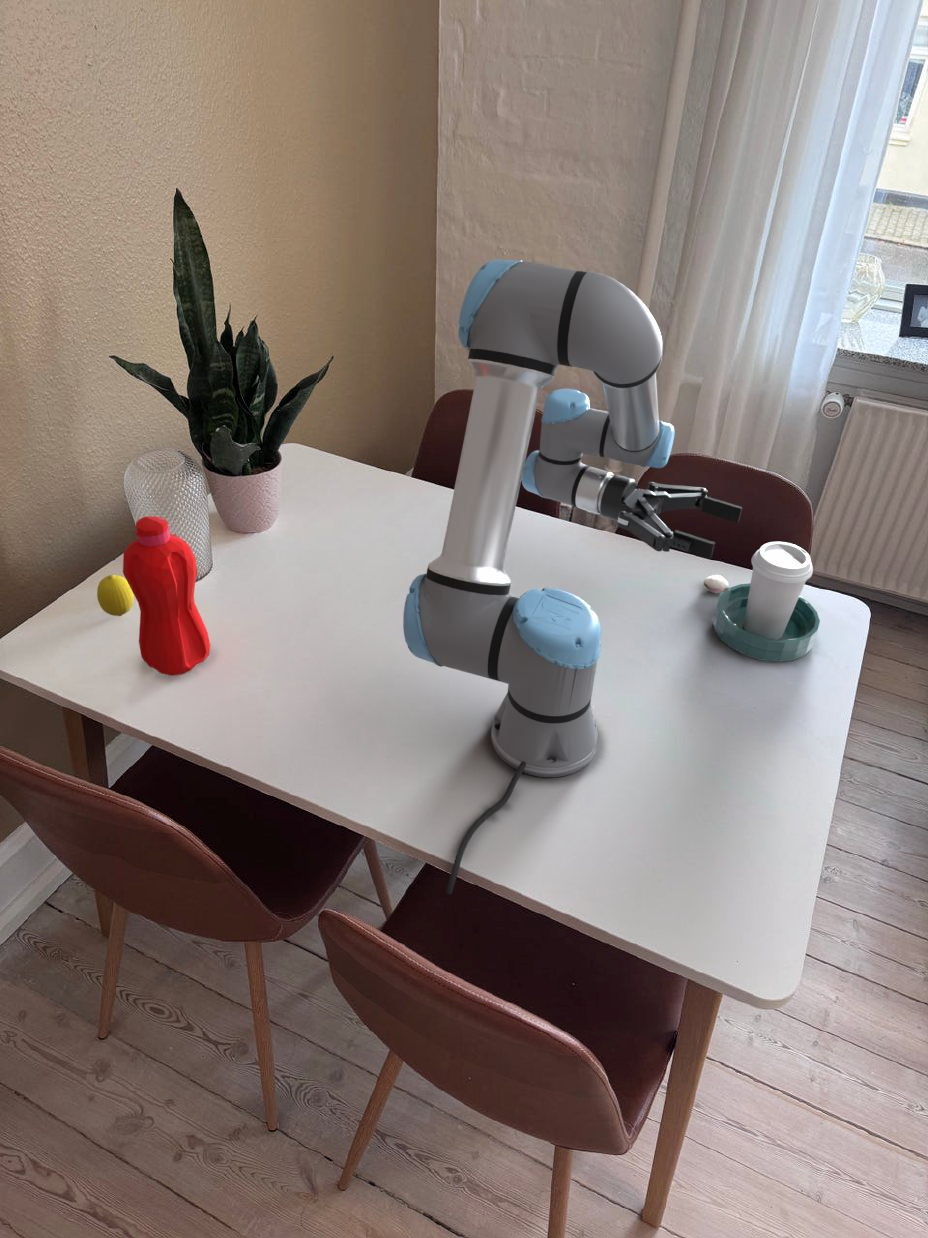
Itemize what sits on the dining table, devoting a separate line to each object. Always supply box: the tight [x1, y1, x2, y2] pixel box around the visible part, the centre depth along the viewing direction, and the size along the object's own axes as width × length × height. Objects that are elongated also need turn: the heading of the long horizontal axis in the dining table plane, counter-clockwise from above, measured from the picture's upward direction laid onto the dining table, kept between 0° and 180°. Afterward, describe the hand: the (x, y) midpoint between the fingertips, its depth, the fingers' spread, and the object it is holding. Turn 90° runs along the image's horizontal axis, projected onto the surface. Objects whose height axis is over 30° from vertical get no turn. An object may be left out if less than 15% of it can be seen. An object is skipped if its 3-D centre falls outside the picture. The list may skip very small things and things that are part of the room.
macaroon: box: [703, 574, 729, 594], centre depth 166 cm, size 4×5×2 cm
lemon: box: [96, 574, 135, 617], centre depth 151 cm, size 6×6×8 cm
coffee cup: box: [744, 541, 814, 640], centre depth 152 cm, size 10×10×15 cm
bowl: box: [712, 582, 821, 662], centre depth 155 cm, size 16×16×4 cm
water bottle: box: [122, 515, 211, 677], centre depth 139 cm, size 9×11×25 cm
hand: (727, 532), depth 150 cm, fingers open, 13 cm apart
